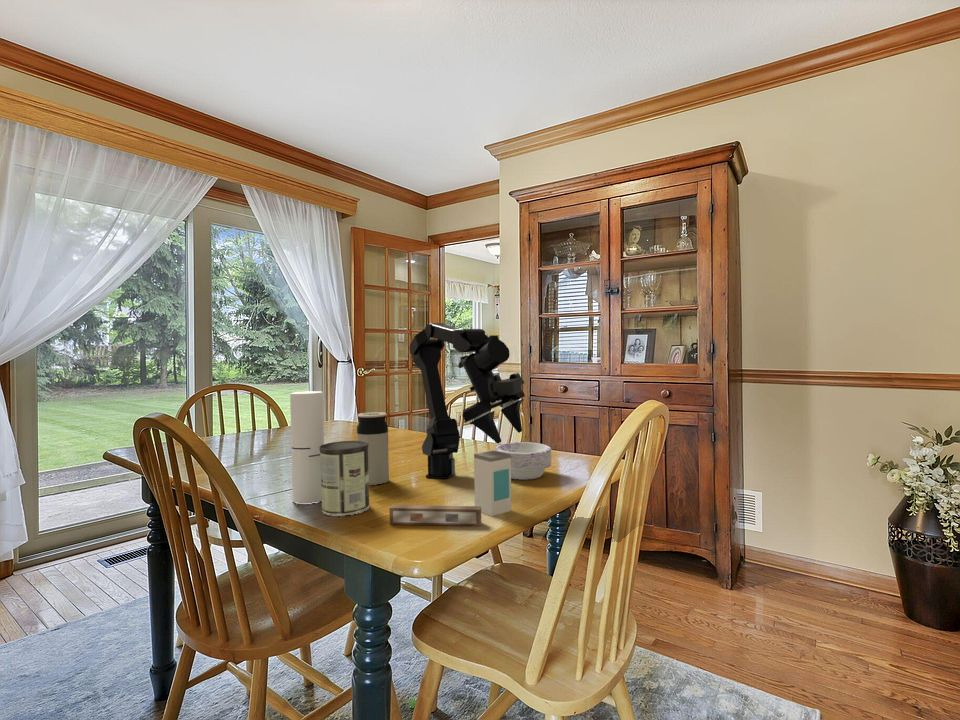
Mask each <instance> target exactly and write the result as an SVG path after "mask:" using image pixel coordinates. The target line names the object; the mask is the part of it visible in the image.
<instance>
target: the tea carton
mask: <svg viewBox="0 0 960 720" xmlns="http://www.w3.org/2000/svg"><path fill="white" fill-rule="evenodd" d="M473 463H474V464H473V465H474V467H473V471H474V473H473V474H474V479H473V481H474V506H481V512H482V513H481V514H485V515H487V516H489V515H490V516H489V517H494V516H497V515H501V514H505V513H508V512H511V511H512V479H511V454H507V453H503V452H498V451H495V450H490V451H483V452H479V453H477V452H476V453H473Z"/></svg>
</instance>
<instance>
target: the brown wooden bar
mask: <svg viewBox="0 0 960 720" xmlns="http://www.w3.org/2000/svg"><path fill="white" fill-rule="evenodd" d="M389 525H406V526H407V525H410V526H412V525H413V526H417V525H418V526H419V525H420V526H424V525H425V526H456V525H457V526H461V527H463V526H466V527H469V526H471V527H481V526H482V513H481V506H475V505H469V506H468V505H419V504H418V505H417V504H416V505H415V504H411V505H410V504H391V506H390V507H389Z"/></svg>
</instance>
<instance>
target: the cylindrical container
mask: <svg viewBox="0 0 960 720" xmlns="http://www.w3.org/2000/svg"><path fill="white" fill-rule="evenodd" d="M289 398H290V399H289V401H290V405H289V406H290V440H291V441H290V442H291V444H290V445H291V449H290V450H291V452H290V453H291V482H292V483H291V484H292V485H291V488H292V495H291V496H292V502H293V501H294V502H298V503H312V502H318V501H321V500H322V496H321V463H320V449H319V447H320V446H321V445H324V444H325V439H324V438H325V435H324V433H325V432H324V431H325V428H324V392H323V391H318V390H315V391H314V390H312V391H311V390H310V391H295V392H290V393H289Z"/></svg>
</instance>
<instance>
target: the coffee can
mask: <svg viewBox="0 0 960 720" xmlns="http://www.w3.org/2000/svg"><path fill="white" fill-rule="evenodd" d="M368 446H369V444H368V443H367V442H363V441H357V440H341V441H332V442H329V443H324V445H321V446H320V447H319V449H320V463H321V496H322V502H321V513H322V512H323V513H324V514H329V515H335V516H334V517H338V516H340V517H346V516H345V515H351V516H355V515H354V514H356V515H359V514H363V513H365V512H367V511H368V510H370V507H371V506H370V505H371V504H370V486H369V473H368ZM364 511H365V512H364ZM323 513H322V514H323ZM358 513H359V514H358ZM324 514H323V515H324ZM337 515H338V516H337Z"/></svg>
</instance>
